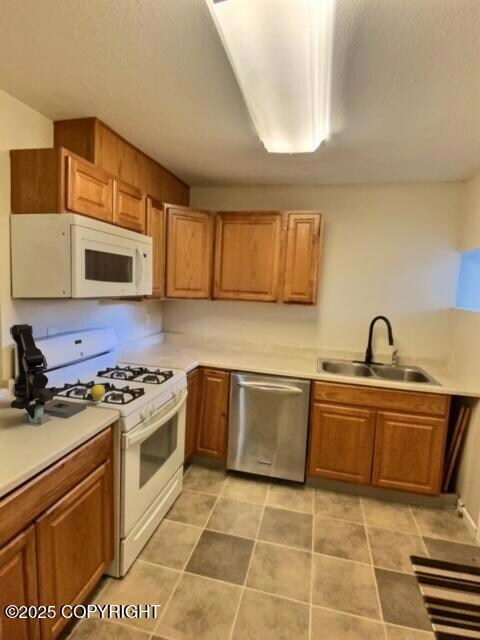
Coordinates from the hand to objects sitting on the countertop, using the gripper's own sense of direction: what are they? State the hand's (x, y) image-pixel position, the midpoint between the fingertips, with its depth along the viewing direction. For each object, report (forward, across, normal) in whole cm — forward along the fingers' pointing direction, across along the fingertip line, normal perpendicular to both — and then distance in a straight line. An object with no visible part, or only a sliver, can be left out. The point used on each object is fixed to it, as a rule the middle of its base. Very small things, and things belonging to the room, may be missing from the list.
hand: (36, 417), depth 152 cm
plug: (+2, 0, 0) cm, 2 cm away
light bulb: (+3, +27, -10) cm, 29 cm away
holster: (+3, 0, 0) cm, 3 cm away
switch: (+3, +13, -1) cm, 13 cm away
